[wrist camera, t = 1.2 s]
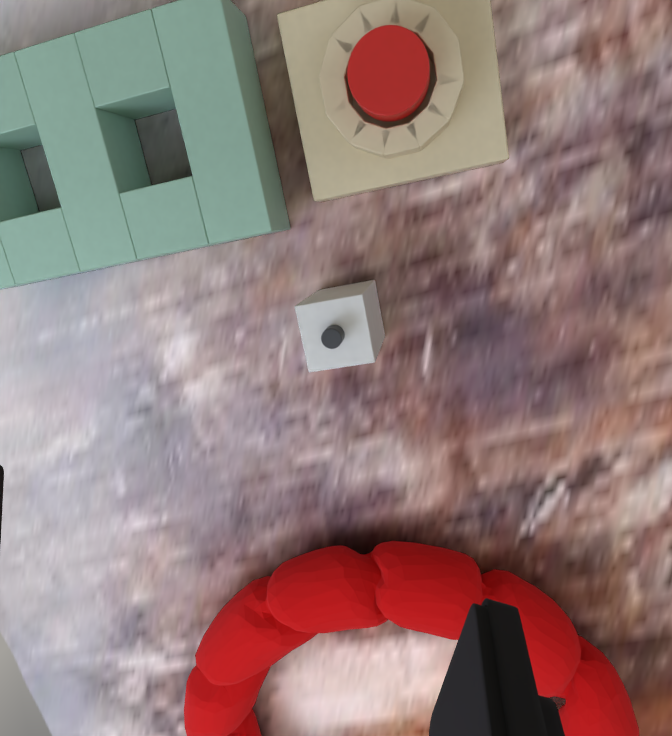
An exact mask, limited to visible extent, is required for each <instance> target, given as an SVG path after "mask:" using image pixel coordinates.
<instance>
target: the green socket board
mask: <svg viewBox="0 0 672 736" xmlns="http://www.w3.org/2000/svg"><path fill="white" fill-rule="evenodd" d="M173 109H176V111H177V115H178V119H179V123H180V127H181V131H182V135H183V139H184V143H185V147H186V151H187V155H188V159H189V163H190V167H191V171H192V176H189V177H185V178H180V179H176V180H172V181H168V182H164V183H160V184H155V185H151V182H150V178H149V174H148V170H147V167H146V163H145V159H144V155H143V151H142V148H141V144H140V140H139V136H138V132H137V129H136V125H135V121H134V119H135V120H136V119H139V118H143V117H147V116H151V115H154V114H158V113H162V112H166V111H169V110H173ZM39 145H43V148H44V152H45V155H46V158H47V162H48V165H49V168H50V171H51V175H52V178H53V181H54V185H55V188H56V191H57V195H58V198H59V201H60V205H61V207H59V208H55V209H51V210H47V211H42V212H39V210H38V206H37V203H36V200H35V197H34V194H33V190H32V187H31V184H30V181H29V178H28V174H27V171H26V168H25V165H24V162H23V158H22V155H21V152H20V150H24V149H28V148H32V147H35V146H39ZM289 229H290V223H289V218H288V214H287V209H286V204H285V200H284V195H283V190H282V185H281V181H280V176H279V171H278V166H277V162H276V157H275V152H274V147H273V143H272V138H271V133H270V129H269V124H268V119H267V114H266V110H265V105H264V100H263V95H262V91H261V86H260V81H259V76H258V72H257V67H256V62H255V58H254V53H253V48H252V43H251V39H250V34H249V29H248V24H247V20H246V16H245V15H244V14H243V13H242V12H241V11H240V10H239V9H238V8H237V7H236V6H235V5H234V4H233V3H232V1H231V0H178V1H175V2H171V3H168V4H165V5H162V6H159V7H155V8H152V10H151V9H148V10H145V11H142V12H139V13H136V14H133V15H129V16H126V17H123V18H120V19H117V20H113V21H110V22H107V23H104V24H101V25H97V26H94V27H91V28H88V29H85V30H81V31H78V32H75V33H72V34H69V35H66V36H62V37H59V38H56V39H53V40H50V41H46V42H43V43H40V44H37V45H34V46H30V47H27V48H24V49H21V50H18V51H15V52H11V53H8V54H5V55H1V56H0V290H1V289H6V288H12V287H17V286H22V285H27V284H31V283H36V282H41V281H46V280H51V279H55V278H60V277H65V276H70V275H74V274H79V273H84V272H89V271H94V270H98V269H103V268H108V267H113V266H117V265H122V264H127V263H132V262H137V261H141V260H146V259H151V258H156V257H161V256H165V255H170V254H175V253H180V252H184V251H189V250H194V249H199V248H204V247H208V246H213V245H218V244H223V243H228V242H232V241H237V240H242V239H247V238H251V237H256V236H261V235H266V234H271V233H275V232H280V231H285V230H289Z"/></svg>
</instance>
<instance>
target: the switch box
mask: <svg viewBox="0 0 672 736" xmlns="http://www.w3.org/2000/svg"><path fill="white" fill-rule="evenodd" d="M277 19H278V24H279V29H280V34H281V39H282V44H283V49H284V54H285V59H286V64H287V69H288V74H289V79H290V84H291V89H292V94H293V99H294V104H295V109H296V114H297V119H298V124H299V129H300V134H301V139H302V144H303V149H304V154H305V159H306V164H307V169H308V174H309V179H310V184H311V189H312V194H313V199H314V201H318V202H325V201H329V200H334V199H339V198H343V197H348V196H352V195H357V194H362V193H366V192H371V191H376V190H380V189H385V188H389V187H394V186H399V185H403V184H408V183H412V182H417V181H422V180H426V179H431V178H435V177H440V176H445V175H449V174H454V173H458V172H463V171H468V170H472V169H477V168H481V167H486V166H491V165H495V164H500V163H503V162H505V161H506V160H507V159H509V153H508V144H507V136H506V127H505V119H504V110H503V102H502V93H501V85H500V77H499V68H498V60H497V51H496V43H495V34H494V26H493V17H492V9H491V0H323V1H320V2H317V3H313V4H310V5H306V6H303V7H300V8H296V9H293V10H290V11H286V12H283V13H279V14H277ZM384 25H398V26H402V27H404V28H407V29H409V30H410V31H412V32H413V33H414V34H416V35H417V36H418V37H419V38H420V40H421V41H422V43H423V44H424V46H425V48H426V50H427V53H428V57H429V64H430V82H429V88H428V91H427V94H426V96H425V98H424V100H423V102H422V103H421V105H420V106H419V107H418V108H417V109H416V110H415V111H414V112H413V113H412V114H410V115H409V116H407V117H405V118H403V119H401V120H397V121H389V122H387V121H381V120H377V119H375V118H373V117H371V116H369V115H368V114H367V113H365V112H364V111H363V109H362V108H361V107H360V106H359V104H358V103H357V101H356V100H355V98H354V97H353V95H352V93H351V91H350V88H349V84H348V78H347V68H348V62H349V58H350V55H351V53H352V51H353V49H354V47H355V45H356V44H357V42H358V41H359V40H360V39H361V38H362V37H363V36H364V35H365V34H366V33H368V32H369V31H371V30H373V29H375V28H377V27H380V26H384Z"/></svg>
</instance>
